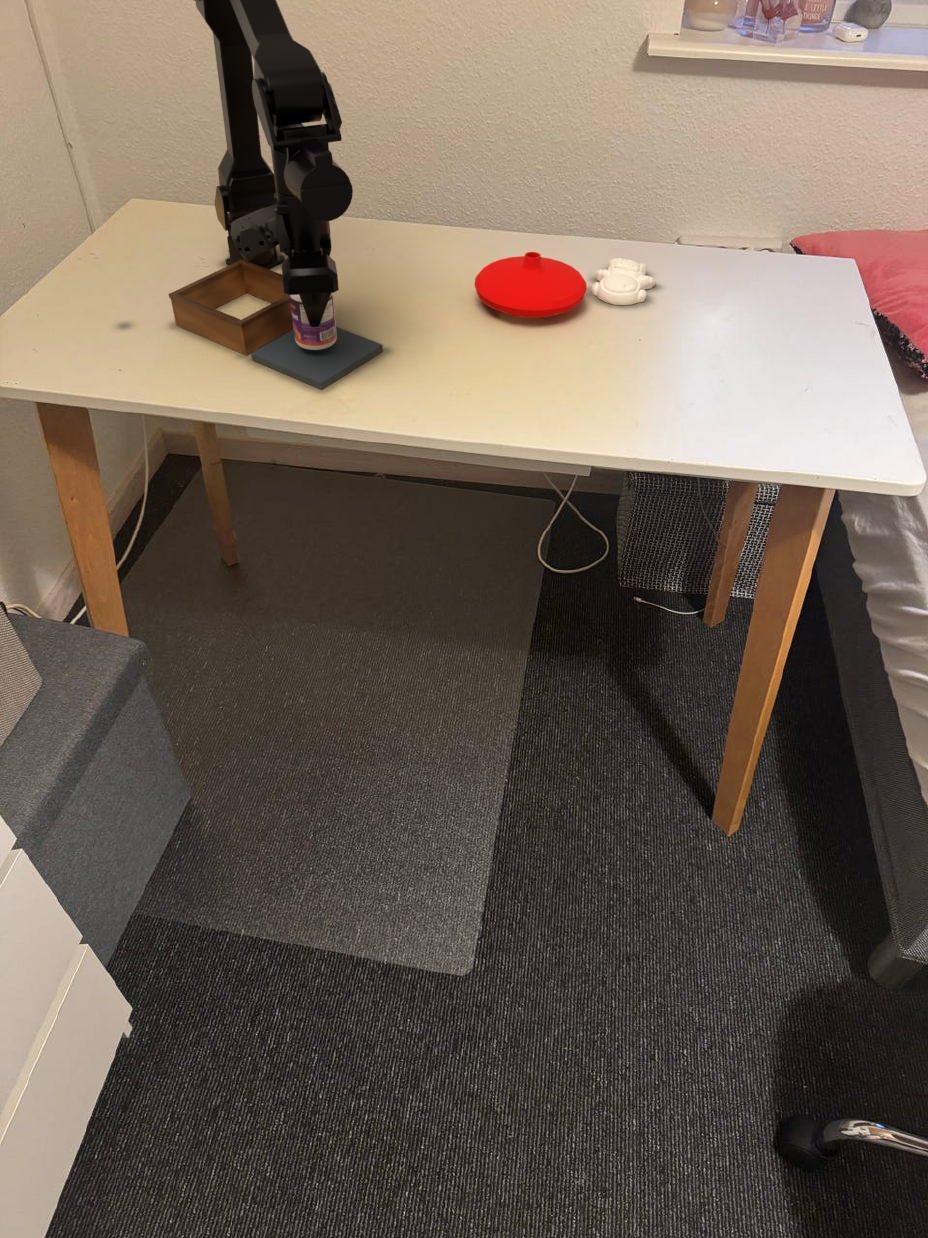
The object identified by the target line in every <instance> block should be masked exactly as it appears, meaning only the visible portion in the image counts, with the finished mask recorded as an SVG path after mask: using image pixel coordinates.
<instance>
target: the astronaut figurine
mask: <svg viewBox="0 0 928 1238" xmlns="http://www.w3.org/2000/svg"><path fill="white" fill-rule="evenodd" d="M608 263H609V264H608V266H607V269H606V268H604V269H602V268H600V269H598V270H596V272H595V278H596V280H597V281H595V282H594V283H593V284H592V285H591V294H592V295H593V296H596V297H597V299H599V300H600V301H602V302H605V303H607V304H610V305H613V306H614V305H615V306H631V305H635V304H637V303H638V304H639V303H643V302H645V301H646V298H647V291H646V290H650V289H652V288H653V287H655V285H656V281H657V280H656V278H654V277H653V276H649V275H646V274H647V271H648V270H647V265H646V264H645V263H642V262H640V263H639V262H637V261H635V260H633V259H628V258H622V257H615V258H612V259H610V260H609V261H608Z"/></svg>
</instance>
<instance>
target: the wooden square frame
mask: <svg viewBox="0 0 928 1238" xmlns="http://www.w3.org/2000/svg"><path fill="white" fill-rule="evenodd" d="M244 294H248V295H251V296H254V297H256V298H258V299H261V300H264V301H266V302H269V303H270V304H269V305H266V306H265V307H262V308H260V309H259V310H257V311H255V312H253V313H251V314H249V315H247V316H245V317H244V318H241V319H240V318H238V317H235V316H233V315H231V314H228V313H225V312H223V311H221V310H219V309H217V308H219V307H221V306H223V305H225V304H227V303H229V302H231V301H233V300H235V299H237V298H239V297H242V296H243V295H244ZM168 298H169V299H170V302H171V307H172V312H173V317H174V321H175V325H176V327H179V328H181V329H184V330H186V331H188V332H191V333H193V334H195V335H197V336H200V337H202V338H204V339H207V340H209V341H212V342H214V343H216V344H219V345H221V346H223V347H226V348H228V349H231V350H233V351H235V352H237V353H240V354H241V355H244V356H248V355H249V354H251V353H252V352H254V351H256V350H258V349H259V348H261V347H263V346H265V345H267V344H268V343H270V342H272V341H274V340H275V339H277V338H279V337H281V336H283V335H284V334H286V333H288V332H290V331H292V330H293V329H294V328H293V320H292V312H291V304H290V296H289V295H288V294H285V293H284V287H283V279H282V273H279V272H276V271H274V270H271V269H270V268H268V269H266V268H263V267H261V266H258V265H255V264H252V263H250V262H247V261H244V260H239V261H237V262H235V263H233V264H231V265H229V264H228V265H227V266H225V267H222V268H220V269H219V270H217V271H216V270H215V271H214V272H211V273H210V274H208V275H206V276H203V277H202V278H199V279H197V280H195V281H193V282H191V283H189V284H186V285H184V286H182V287H180V288H178V289H176V290H174V291H172V292H170V293H168Z"/></svg>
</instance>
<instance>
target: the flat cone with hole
mask: <svg viewBox="0 0 928 1238" xmlns="http://www.w3.org/2000/svg"><path fill="white" fill-rule="evenodd" d="M474 287H475V288H474V289H475V291H476V293H477V296H478V298H479V299H480V301H481V302H483V304H485V305H486V306H488V307H490V308H492V309H493V310H495V311H497V312H501V313H504V314H507V315H510V316H513V317H518V318H526V319H540V318H547V317H552V316H557V315H560V314H564V313H567V312H569V311H572V310H574V309H576V307H577V306H579V305H580V304H581V302H582V300H583V299H584V297H585V294H586V293H587V290H588V286H587V282H586V280H585V278H584V277H583V275H582V274H581V273H580V271H578V270H577V269H576V268H574V267H573V265H570V264H567V263H566V262H563V261H561V260H557V259H553V258H548V257H543V256H542V255H541V253H539V252H537V251H527V252H525V253H524V255H521V256H520V255H519V256H510V257H506V258H500V259H497V260H495V261H492V262H490V263H489V264H487V265H485V266H484V267H483V268H482V269H481V270H480V271H479V272H478V274H477V275H476V276H475V278H474Z"/></svg>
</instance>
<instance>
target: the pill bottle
mask: <svg viewBox="0 0 928 1238" xmlns="http://www.w3.org/2000/svg"><path fill="white" fill-rule="evenodd" d="M289 296H290V304H291V312H292V320H293V328H294V336H295V341H296V343H297V344H298V345H299V346H300V347H302V348H304V349H308V350H321V349H325V348H328V347H330V346H332V345H333V344H334V343H335V342H336V339H337V333H336V327H337V323H336V311H335V299H334V298H335V297H334V293H331V296H330V298H329V301H328V304H327V306H326V309H325V312H324V314H323V317H322V320H321V323H320V325H319V326H318V327H311V326H310V324H309V321H308V318H307V315H306V313H305V310H304V307H303V304H302V301H301V298H300V296H299V295H289Z"/></svg>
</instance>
